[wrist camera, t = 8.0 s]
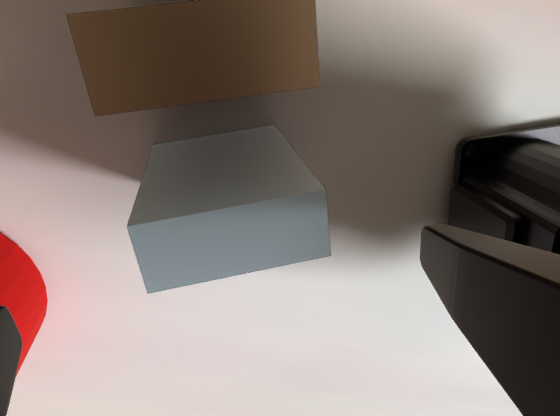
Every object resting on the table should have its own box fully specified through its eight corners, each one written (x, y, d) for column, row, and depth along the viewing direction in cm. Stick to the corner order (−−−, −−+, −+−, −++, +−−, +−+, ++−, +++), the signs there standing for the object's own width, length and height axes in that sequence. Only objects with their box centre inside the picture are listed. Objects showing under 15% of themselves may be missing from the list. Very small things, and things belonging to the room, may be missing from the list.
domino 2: (274, 124, 17) (326, 189, 11) (280, 169, 18) (331, 255, 12) (153, 144, 17) (126, 226, 10) (164, 190, 18) (147, 293, 11)
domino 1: (261, 3, 16) (314, -12, 9) (267, 59, 16) (319, 86, 10) (123, 17, 15) (66, 13, 8) (137, 75, 16) (95, 116, 9)
